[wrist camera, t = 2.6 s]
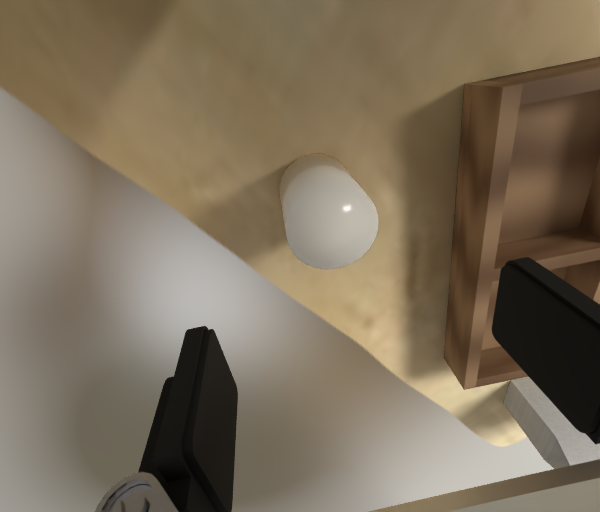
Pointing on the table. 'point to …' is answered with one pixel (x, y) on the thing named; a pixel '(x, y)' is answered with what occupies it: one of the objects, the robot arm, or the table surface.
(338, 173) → the egg
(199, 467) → the robot arm
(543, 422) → the milk carton
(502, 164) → the rack
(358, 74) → the table surface
